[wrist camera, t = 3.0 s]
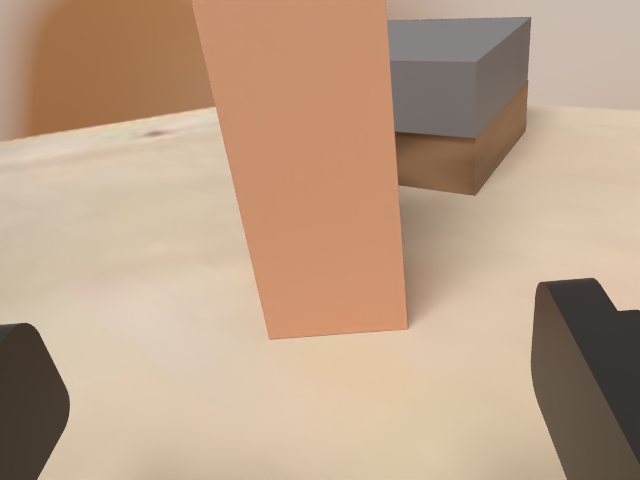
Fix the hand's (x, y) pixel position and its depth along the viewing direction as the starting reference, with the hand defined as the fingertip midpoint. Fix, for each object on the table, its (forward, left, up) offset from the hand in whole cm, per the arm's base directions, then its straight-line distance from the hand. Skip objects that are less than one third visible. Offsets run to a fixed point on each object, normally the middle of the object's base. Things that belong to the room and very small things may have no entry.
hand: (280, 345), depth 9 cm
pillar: (-10, +6, -7) cm, 13 cm away
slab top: (-19, +16, -4) cm, 25 cm away
